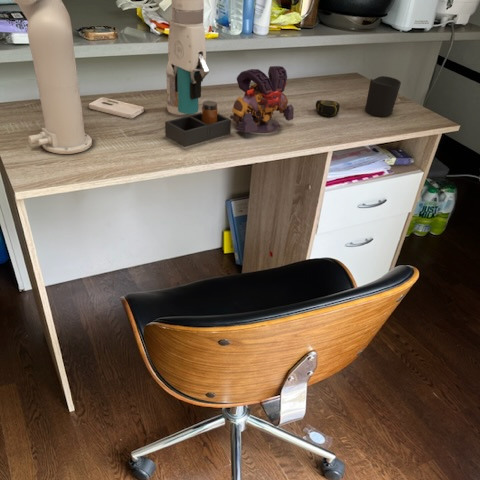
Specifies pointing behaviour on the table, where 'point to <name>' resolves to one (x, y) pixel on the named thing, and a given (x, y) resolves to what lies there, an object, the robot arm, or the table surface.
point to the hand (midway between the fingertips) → (187, 93)
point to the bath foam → (171, 91)
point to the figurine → (261, 100)
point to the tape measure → (327, 107)
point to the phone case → (116, 108)
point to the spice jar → (209, 112)
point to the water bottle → (185, 93)
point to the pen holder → (382, 96)
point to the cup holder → (196, 129)
